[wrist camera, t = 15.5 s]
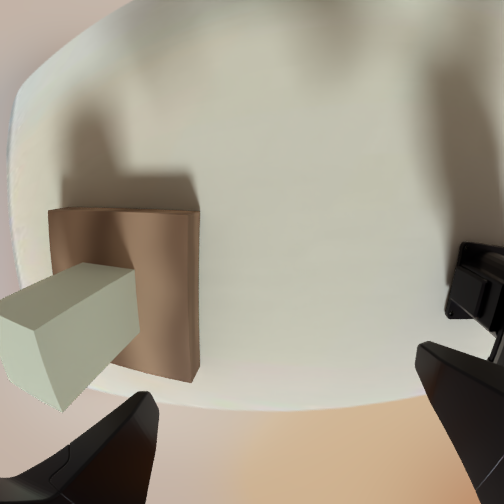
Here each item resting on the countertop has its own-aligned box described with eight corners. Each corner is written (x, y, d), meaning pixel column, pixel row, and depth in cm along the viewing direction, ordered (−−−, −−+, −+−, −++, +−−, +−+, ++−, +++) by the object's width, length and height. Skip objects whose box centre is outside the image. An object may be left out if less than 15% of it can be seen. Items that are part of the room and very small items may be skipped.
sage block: (134, 269, 19) (33, 330, 9) (140, 332, 20) (62, 412, 10) (82, 262, 20) (-16, 307, 10) (90, 319, 21) (9, 381, 11)
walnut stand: (200, 211, 20) (188, 214, 18) (200, 366, 23) (191, 383, 21) (66, 207, 21) (47, 210, 19) (81, 337, 24) (67, 348, 22)
